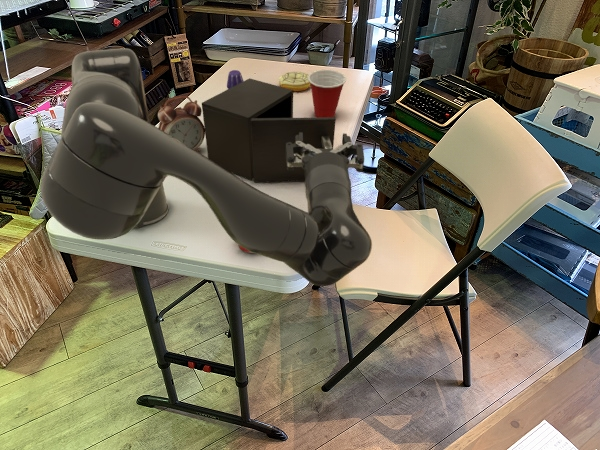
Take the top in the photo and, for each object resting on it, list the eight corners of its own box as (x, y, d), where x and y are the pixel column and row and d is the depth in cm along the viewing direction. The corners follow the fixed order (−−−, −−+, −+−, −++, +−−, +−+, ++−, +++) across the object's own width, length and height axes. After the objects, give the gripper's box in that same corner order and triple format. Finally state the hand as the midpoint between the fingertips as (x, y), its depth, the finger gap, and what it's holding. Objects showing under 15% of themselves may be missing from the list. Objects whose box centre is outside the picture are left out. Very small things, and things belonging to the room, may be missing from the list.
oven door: (334, 194, 99) (340, 132, 89) (254, 197, 98) (251, 133, 88) (329, 178, 104) (335, 117, 94) (254, 180, 103) (251, 118, 93)
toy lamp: (244, 136, 120) (240, 75, 109) (228, 134, 120) (223, 74, 110) (249, 128, 123) (246, 69, 113) (233, 126, 124) (229, 67, 113)
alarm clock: (168, 162, 108) (157, 105, 98) (161, 154, 111) (150, 97, 101) (209, 151, 113) (202, 95, 103) (201, 143, 116) (194, 88, 106)
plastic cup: (302, 121, 127) (303, 81, 120) (310, 106, 136) (312, 67, 128) (339, 126, 126) (343, 85, 118) (345, 110, 134) (349, 71, 126)
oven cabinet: (292, 149, 115) (293, 90, 105) (251, 180, 103) (248, 117, 93) (252, 135, 120) (249, 78, 110) (208, 164, 108) (201, 102, 98)
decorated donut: (281, 79, 152) (281, 68, 149) (312, 81, 151) (312, 70, 149) (277, 91, 144) (277, 80, 141) (309, 93, 143) (310, 82, 141)
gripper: (284, 201, 75) (286, 153, 88) (367, 203, 76) (356, 154, 88) (285, 164, 71) (286, 118, 83) (373, 166, 71) (361, 120, 83)
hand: (322, 137), depth 86 cm, fingers open, 8 cm apart
